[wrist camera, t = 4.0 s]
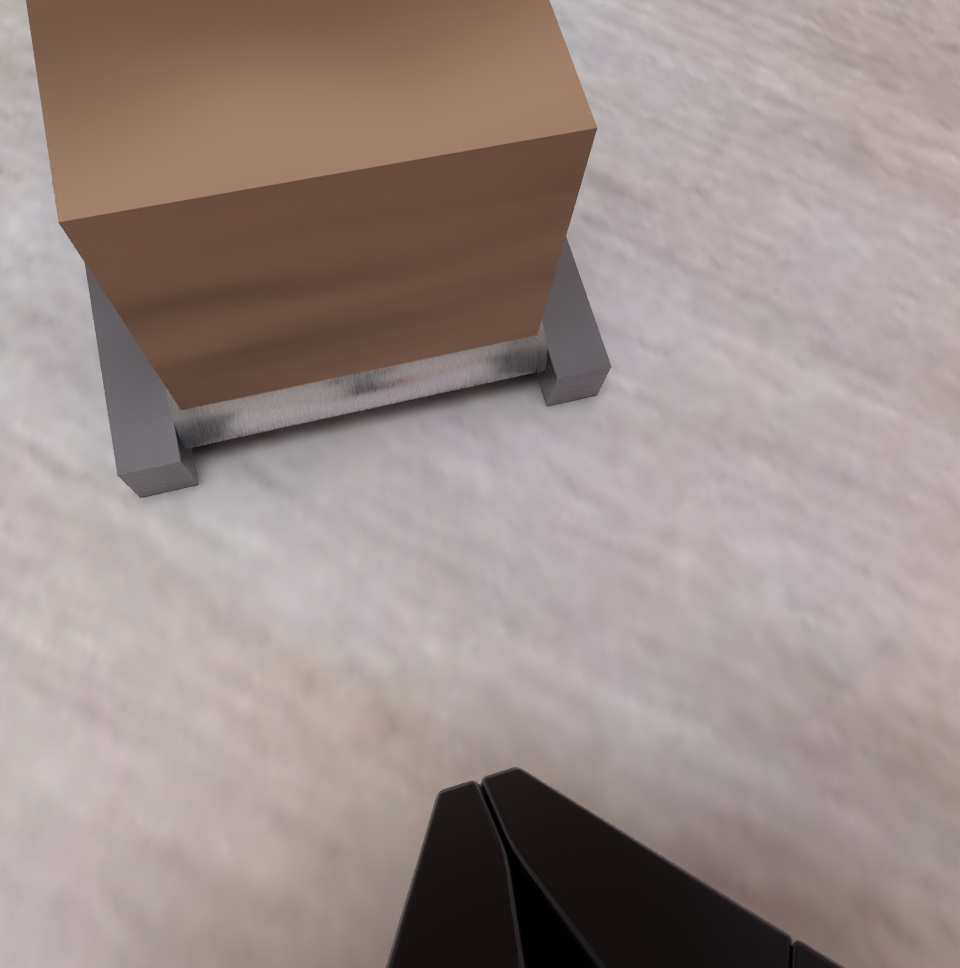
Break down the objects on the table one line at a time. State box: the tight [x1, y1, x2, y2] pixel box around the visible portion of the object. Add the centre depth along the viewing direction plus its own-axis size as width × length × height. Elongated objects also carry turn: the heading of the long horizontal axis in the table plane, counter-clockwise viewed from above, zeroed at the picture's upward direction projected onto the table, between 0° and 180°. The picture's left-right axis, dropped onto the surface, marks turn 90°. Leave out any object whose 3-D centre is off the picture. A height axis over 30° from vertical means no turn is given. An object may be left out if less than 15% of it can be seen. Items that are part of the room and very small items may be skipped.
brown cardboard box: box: [26, 0, 597, 410], centre depth 19 cm, size 8×9×8 cm
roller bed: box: [85, 238, 611, 497], centre depth 23 cm, size 18×13×6 cm
